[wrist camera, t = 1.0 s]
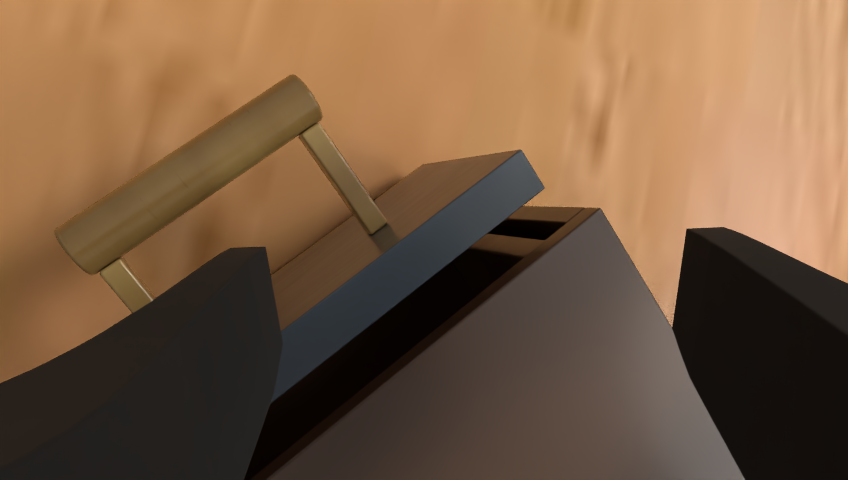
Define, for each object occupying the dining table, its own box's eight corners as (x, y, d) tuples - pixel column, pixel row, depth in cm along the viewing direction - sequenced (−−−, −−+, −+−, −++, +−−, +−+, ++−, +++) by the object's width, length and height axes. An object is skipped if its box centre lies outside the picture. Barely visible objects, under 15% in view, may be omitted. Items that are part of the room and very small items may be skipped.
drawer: (-8, 284, 20) (-126, 334, 13) (347, 49, 23) (417, -21, 16) (343, 680, 24) (406, 888, 17) (604, 438, 27) (753, 526, 20)
